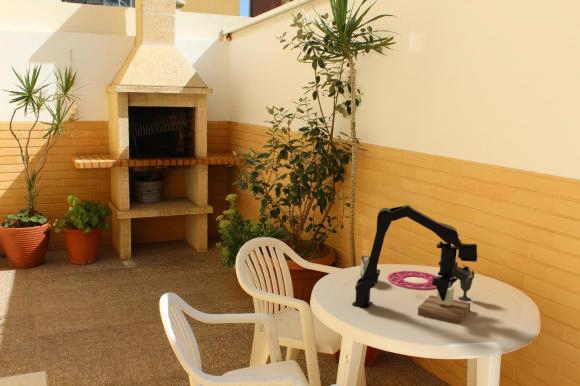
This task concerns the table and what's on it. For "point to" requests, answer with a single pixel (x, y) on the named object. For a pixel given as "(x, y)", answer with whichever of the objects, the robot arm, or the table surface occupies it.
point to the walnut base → (444, 310)
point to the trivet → (414, 285)
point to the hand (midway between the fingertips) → (445, 298)
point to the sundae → (466, 286)
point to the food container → (364, 263)
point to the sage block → (448, 297)
